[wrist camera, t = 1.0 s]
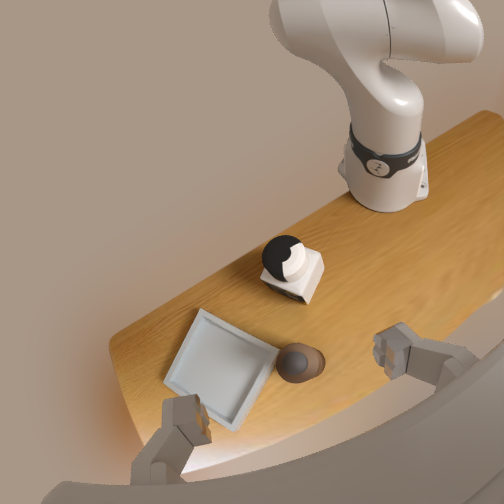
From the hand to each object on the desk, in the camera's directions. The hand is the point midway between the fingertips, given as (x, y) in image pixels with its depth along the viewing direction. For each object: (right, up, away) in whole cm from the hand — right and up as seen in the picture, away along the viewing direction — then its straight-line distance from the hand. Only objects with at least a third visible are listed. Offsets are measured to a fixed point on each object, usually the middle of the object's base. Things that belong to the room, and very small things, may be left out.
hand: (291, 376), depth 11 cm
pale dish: (-7, -15, +35) cm, 39 cm away
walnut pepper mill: (+7, -12, +31) cm, 34 cm away
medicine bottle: (+6, +1, +37) cm, 38 cm away
